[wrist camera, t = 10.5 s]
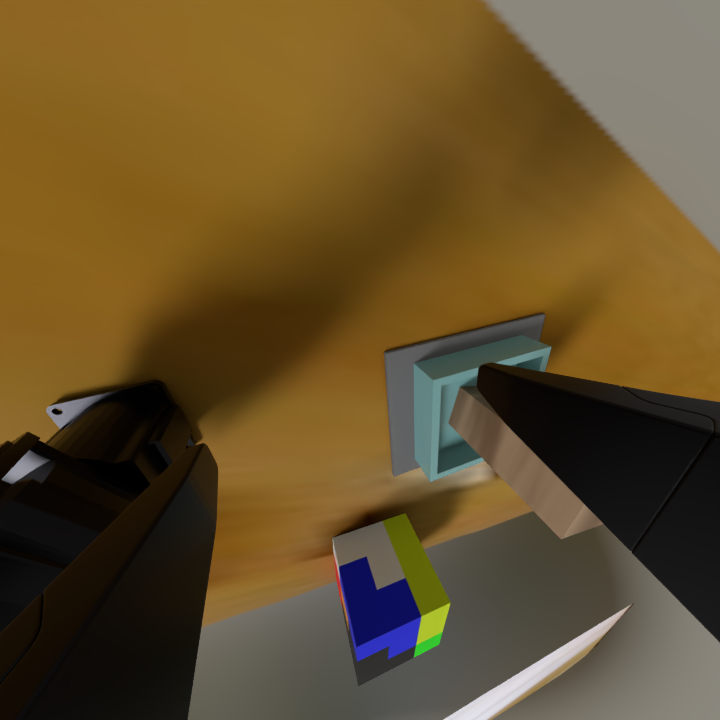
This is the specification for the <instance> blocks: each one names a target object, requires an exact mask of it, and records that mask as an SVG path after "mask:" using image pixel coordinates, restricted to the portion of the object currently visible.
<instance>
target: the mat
mask: <svg viewBox="0 0 720 720" xmlns="http://www.w3.org/2000/svg"><path fill="white" fill-rule="evenodd" d="M544 319H545V314H542V313H541V314H537V315H533V316H529V317H525V318H521V319H517V320H513V321H509V322H505V323H501V324H496V325H492V326H488V327H484V328H480V329H476V330H472V331H468V332H464V333H460V334H456V335H452V336H447V337H443V338H439V339H435V340H431V341H427V342H423V343H419V344H415V345H411V346H407V347H403V348H398V349H394V350H390V351H386V352H384V357H385V371H386V386H387V400H388V414H389V429H390V443H391V457H392V472H393V475H394V476H397V475H400V474H402V473H405V472H408V471H411V470H413V469H416V468H419V467H420V466H419V464H418V463H417V461H416V460H415V436H414V363H417V362H421V361H425V360H429V359H432V358H436V357H440V356H444V355H448V354H451V353H455V352H459V351H463V350H467V349H470V348H474V347H478V346H482V345H486V344H489V343H493V342H497V341H501V340H505V339H508V338H512V337H516V336H520V335H523V336H526V337H528V338H531V339H533V340H536V341H539V340H540V336H541V332H542V327H543V323H544Z"/></svg>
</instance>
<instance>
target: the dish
mask: <svg viewBox="0 0 720 720" xmlns="http://www.w3.org/2000/svg"><path fill="white" fill-rule="evenodd" d="M551 347H552V346H549V345H546V344H544V343H541V342H539V341H536V340H533V339H531V338H528V337H526V336H523V335H520V336H516V337H512V338H508V339H505V340H501V341H497V342H493V343H489V344H486V345H482V346H478V347H474V348H470V349H467V350H463V351H459V352H455V353H451V354H448V355H444V356H440V357H436V358H432V359H429V360H425V361H421V362H417V363H414V436H415V460H416V461H417V463H418V464H419V466H420V467H421V469H422V470H423V472H424V473H425V475H426V476H427V478H428V479H429V481H430V482H432V481H434V480H437V479H439V478H442V477H444V476H447V475H450V474H452V473H455V472H457V471H460V470H463V469H465V468H468V467H470V466H473V465H475V464H478V463H481V462H483V461H485V460H484V459H483V458H482V457H481V456H480V455H479V454H478V453H477V452H476V451H475V450H474V449H473V448H472V447H471V446H470V445H469V444H468V443H467V442H466V441H465V440H464V439H463V438H462V437H461V436H460V435H459V434H458V433H457V432H456V431H455V430H454V429H453V428H452V427H451V426H450V424H449V423H448V422H449V419H450V416H451V412H452V409H453V406H454V403H455V400H456V397H457V394H458V390H459V387H464V386H477V385H476V384H477V375H478V368H479V366H480V365H482V364H486V363H489V362H493V363H498V364H504V365H509V366H515V367H520V368H526V369H531V370H536V371H542V372H545V370H546V366H547V362H548V358H549V354H550V351H551Z"/></svg>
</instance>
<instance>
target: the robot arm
mask: <svg viewBox="0 0 720 720" xmlns="http://www.w3.org/2000/svg"><path fill="white" fill-rule="evenodd" d="M476 385H477V389H478V391H479V392H480V394H481V395H482V396H483V397H484V399H485V400H486V401H487V402H488V403H489V405H490V406H491V407H492V408H493V410H494V411H495V412H496V413H497V414H498V416H499V417H500V418H501V419H502V420H503V422H504V423H505V424H506V425H507V426H508V427H509V428H510V429H511V430H512V431H513V432H514V433H515V434H516V435H517V436H518V437H519V438H520V439H521V440H522V441H523V442H524V443H525V445H526V446H527V447H528V448H529V449H530V450H531V451H532V452H533V453H534V454H535V455H536V456H537V457H538V458H539V459H540V460H541V461H542V462H543V463H544V464H545V465H546V466H547V467H548V468H549V469H550V470H551V471H552V472H553V473H554V474H555V475H556V476H557V477H558V478H559V479H560V480H561V481H562V482H563V483H564V484H565V485H566V486H567V487H568V488H569V489H570V490H571V491H572V492H573V493H574V494H575V495H576V496H577V497H578V498H579V499H580V500H581V501H582V502H583V503H584V505H585V506H586V507H587V508H588V509H589V510H590V511H591V512H592V513H593V514H594V515H595V516H596V517H597V518H598V519H599V520H600V521H601V522H602V523H603V524H604V525H605V526H606V527H607V528H608V529H609V530H610V531H611V532H612V533H613V534H614V535H615V536H616V537H617V538H618V539H619V540H620V541H621V542H622V543H623V544H624V545H625V546H626V547H627V548H628V549H629V550H630V551H632V554H633V555H634V556H635V557H636V558H637V559H638V560H639V561H640V562H641V563H642V564H643V565H644V566H645V567H646V568H647V569H648V570H649V571H650V572H651V573H652V574H653V575H654V576H655V577H656V578H657V579H658V580H659V581H660V582H661V583H662V584H663V585H664V586H665V587H666V588H667V589H668V590H669V591H670V592H671V593H672V594H673V595H674V596H675V597H676V598H677V599H678V600H679V601H680V603H682V605H683V606H684V607H685V608H686V609H687V610H688V611H689V612H691V614H692V615H693V616H694V617H695V618H696V619H697V620H698V621H699V622H700V623H701V624H702V625H703V626H704V627H705V628H706V629H707V630H708V631H709V632H710V633H711V634H712V635H713V636H714V637H715V638H716V639H717V640H718V641H719V642H720V402H715V401H709V400H702V399H695V398H689V397H683V396H676V395H670V394H664V393H658V392H652V391H646V390H641V389H635V388H630V387H624V386H622V387H620V386H618V385H613V384H608V383H602V382H597V381H591V380H586V379H580V378H575V377H569V376H564V375H558V374H553V373H547V372H542V371H536V370H531V369H526V368H520V367H515V366H509V365H504V364H498V363H493V362H489V363H486V364H482V365H480V366H479V368H478V375H477V384H476ZM152 386H156V387H158V388H159V389H157V390H156V389H153V388H152ZM56 408H58V409H61V410H62V411H58V410H57V409H56ZM46 412H47V414H48V415H49V416H50V417H51V418H52V420H53V421H54V422H55V423H56V424H57V426H58V427H59V428H60V430H59V431H58V432H56V433H55V434H54V435H53V436H52V437H51V438H50V439H49V440H48V441H47V442H46V443H43V442H41V441H39V439H40V438H39V437H37V436H36V435H34V434H32V433H30V432H26V433H25V434H23V435H22V436H20V437H18V438H17V439H15V440H14V441H12V442H10V441H6V442H4V443H3V444H1V445H0V720H188V713H189V706H190V700H191V693H192V686H193V680H194V673H195V666H196V659H197V652H198V646H199V639H200V633H201V626H202V619H203V613H204V606H205V599H206V592H207V586H208V579H209V572H210V566H211V559H212V552H213V545H214V539H215V531H216V520H217V492H218V467H217V463H216V461H215V459H214V457H213V455H212V453H211V452H210V450H209V448H208V446H207V445H206V444H204V443H202V444H198V445H196V442H195V440H194V438H193V437H192V435H191V432H192V429H191V427H190V425H189V423H188V421H187V420H186V418H185V416H184V414H183V412H182V410H181V408H180V406H179V405H177V404H175V403H174V401H173V399H172V398H171V396H170V394H169V392H168V390H167V388H166V386H165V385H164V383H163V382H161V381H158V380H152V381H148V382H143V383H139V384H134V385H130V386H125V387H121V388H116V389H112V390H107V391H103V392H99V393H94V394H90V395H85V396H81V397H76V398H72V399H67V400H63V401H58V402H55V403H53V404H52V405H50V406H49V407H48V408H47V410H46ZM187 445H190V446H187Z"/></svg>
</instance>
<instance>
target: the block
mask: <svg viewBox="0 0 720 720" xmlns="http://www.w3.org/2000/svg"><path fill="white" fill-rule="evenodd" d="M448 423H449V424H450V426H451V427H452V428H453V429H454V430H455V431H456V432H457V433H458V434H459V435H460V436H461V437H462V438H463V439H464V440H465V441H466V442H467V443H468V444H469V445H470V446H471V447H472V448H473V449H474V450H475V451H476V452H477V453H478V454H479V455H480V456H481V457H482V458H483V459H484V460H485V461H486V462H487V463H488V465H489V466H490V467H491V468H492V469H493V470H494V471H495V472H496V473H497V474H498V475H499V476H500V477H501V478H502V479H503V480H504V481H505V482H506V483H507V484H508V485H509V486H510V487H511V488H512V489H513V490H514V491H515V492H516V493H517V494H518V495H519V496H520V497H521V498H522V499H523V500H524V501H525V503H526V504H527V505H528V506H529V507H530V508H531V509H532V510H533V511H534V512H535V513H536V514H537V515H538V516H539V517H540V518H541V519H542V520H543V521H544V522H545V523H546V524H547V525H548V526H549V527H550V528H551V529H552V530H553V531H554V532H555V533H556V534H557V535H558V536H559V537H560V538H561V539H563V538H566V537H568V536H571V535H574V534H577V533H580V532H582V531H585V530H588V529H591V528H594V527H596V526H599V525H602V524H603V523H602V522H601V521H600V520H599V519H598V518H597V517H596V516H595V515H594V514H593V513H592V512H591V511H590V510H589V509H588V508H587V507H586V506H585V505H584V503H583V502H582V501H581V500H580V499H579V498H578V497H577V496H576V495H575V494H574V493H573V492H572V491H571V490H570V489H569V488H568V487H567V486H566V485H565V484H564V483H563V482H562V481H561V480H560V479H559V478H558V477H557V476H556V475H555V474H554V473H553V472H552V471H551V470H550V469H549V468H548V467H547V466H546V465H545V464H544V463H543V462H542V461H541V460H540V459H539V458H538V457H537V456H536V455H535V454H534V453H533V452H532V451H531V450H530V449H529V448H528V447H527V446H526V445H525V443H524V442H523V441H522V440H521V439H520V438H519V437H518V436H517V435H516V434H515V433H514V432H513V431H512V430H511V429H510V428H509V427H508V426H507V425H506V424H505V423H504V422H503V420H502V419H501V418H500V417H499V416H498V414H497V413H496V412H495V411H494V410H493V408H492V407H491V406H490V405H489V403H488V402H487V401H486V400H485V399H484V397H483V396H482V395H481V394H480V392H479V391H478V389H477V386H464V387H459V390H458V394H457V397H456V400H455V403H454V406H453V409H452V412H451V416H450V419H449V422H448Z"/></svg>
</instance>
